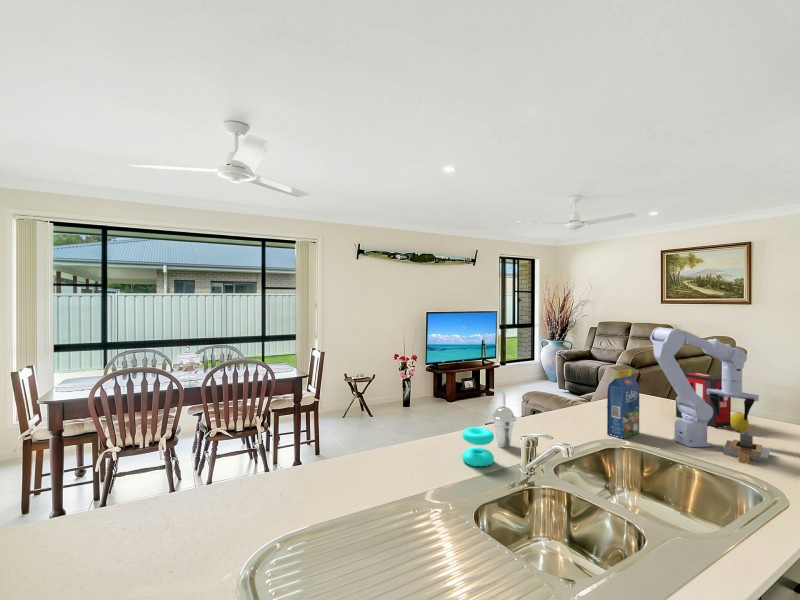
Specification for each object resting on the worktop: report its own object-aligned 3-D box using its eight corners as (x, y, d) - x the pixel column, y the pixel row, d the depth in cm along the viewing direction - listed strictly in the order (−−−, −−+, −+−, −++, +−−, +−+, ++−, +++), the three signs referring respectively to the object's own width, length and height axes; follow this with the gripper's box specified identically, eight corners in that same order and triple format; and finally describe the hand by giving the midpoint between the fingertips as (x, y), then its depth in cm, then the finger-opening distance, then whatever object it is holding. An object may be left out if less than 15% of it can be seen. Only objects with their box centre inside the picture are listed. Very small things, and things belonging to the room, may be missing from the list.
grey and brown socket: (767, 468, 122) (767, 458, 122) (721, 458, 130) (721, 449, 130) (769, 454, 133) (769, 445, 133) (727, 445, 141) (727, 437, 141)
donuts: (460, 434, 123) (464, 424, 132) (460, 466, 123) (463, 454, 132) (493, 437, 120) (494, 427, 129) (493, 470, 120) (494, 457, 130)
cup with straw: (506, 452, 134) (507, 393, 134) (485, 444, 141) (485, 389, 141) (520, 446, 139) (521, 390, 139) (499, 439, 146) (500, 385, 146)
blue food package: (639, 433, 153) (640, 370, 153) (623, 439, 146) (623, 373, 146) (623, 429, 158) (623, 367, 158) (606, 434, 152) (607, 370, 152)
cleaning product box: (730, 426, 163) (730, 378, 162) (715, 428, 160) (715, 379, 160) (690, 415, 178) (690, 371, 178) (676, 416, 176) (676, 372, 176)
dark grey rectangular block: (751, 457, 130) (751, 436, 130) (739, 454, 133) (740, 434, 133) (752, 453, 133) (752, 433, 133) (741, 451, 135) (741, 431, 135)
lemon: (732, 433, 154) (732, 412, 154) (728, 428, 159) (728, 409, 159) (750, 435, 152) (750, 414, 152) (746, 431, 157) (746, 411, 156)
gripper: (759, 381, 141) (759, 419, 141) (708, 375, 152) (708, 410, 152) (757, 384, 136) (757, 423, 136) (705, 378, 147) (705, 414, 147)
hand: (731, 417), depth 144 cm, fingers open, 7 cm apart
